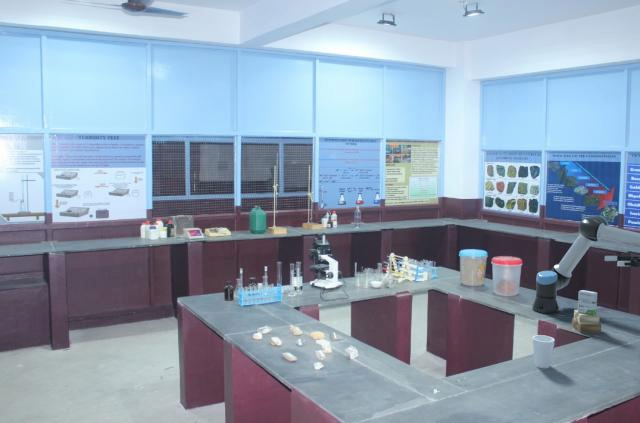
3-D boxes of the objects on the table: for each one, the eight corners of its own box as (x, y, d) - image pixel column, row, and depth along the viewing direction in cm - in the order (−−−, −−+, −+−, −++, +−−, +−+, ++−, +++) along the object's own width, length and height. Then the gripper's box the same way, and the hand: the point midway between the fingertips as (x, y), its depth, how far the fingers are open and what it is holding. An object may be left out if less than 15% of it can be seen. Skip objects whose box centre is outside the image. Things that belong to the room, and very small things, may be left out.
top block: (573, 318, 315) (574, 309, 314) (592, 318, 314) (593, 310, 313) (579, 324, 305) (580, 315, 305) (599, 324, 304) (599, 315, 303)
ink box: (596, 313, 307) (598, 292, 306) (593, 315, 304) (594, 293, 303) (580, 310, 313) (582, 289, 312) (576, 311, 310) (578, 290, 309)
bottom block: (571, 326, 316) (572, 318, 315) (591, 326, 316) (591, 318, 315) (580, 333, 305) (580, 324, 304) (600, 333, 305) (601, 324, 304)
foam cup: (534, 369, 258) (535, 341, 256) (529, 361, 267) (530, 334, 265) (555, 370, 256) (557, 342, 255) (550, 362, 265) (551, 335, 264)
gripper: (663, 272, 295) (623, 273, 295) (637, 262, 320) (599, 262, 320) (664, 258, 294) (623, 259, 294) (638, 249, 319) (600, 249, 319)
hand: (611, 260), depth 307 cm, fingers open, 13 cm apart
